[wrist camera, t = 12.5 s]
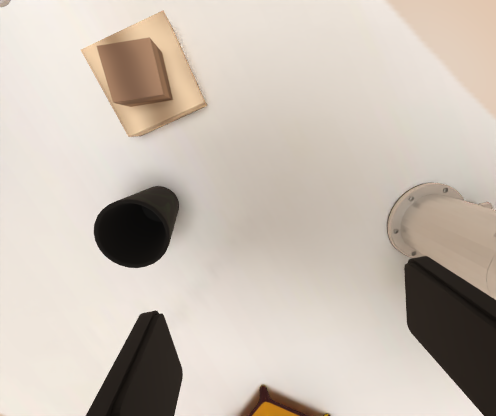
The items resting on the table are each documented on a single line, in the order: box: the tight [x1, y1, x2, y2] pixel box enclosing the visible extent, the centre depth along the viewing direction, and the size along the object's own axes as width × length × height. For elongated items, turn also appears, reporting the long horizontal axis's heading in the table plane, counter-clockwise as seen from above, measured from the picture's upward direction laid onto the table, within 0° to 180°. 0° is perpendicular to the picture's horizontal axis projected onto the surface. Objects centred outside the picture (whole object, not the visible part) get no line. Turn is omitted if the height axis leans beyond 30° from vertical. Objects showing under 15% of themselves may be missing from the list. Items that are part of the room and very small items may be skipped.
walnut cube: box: [97, 37, 173, 107], centre depth 28 cm, size 5×5×5 cm
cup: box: [94, 186, 179, 268], centre depth 33 cm, size 8×8×12 cm
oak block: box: [81, 11, 207, 137], centre depth 33 cm, size 10×10×5 cm
